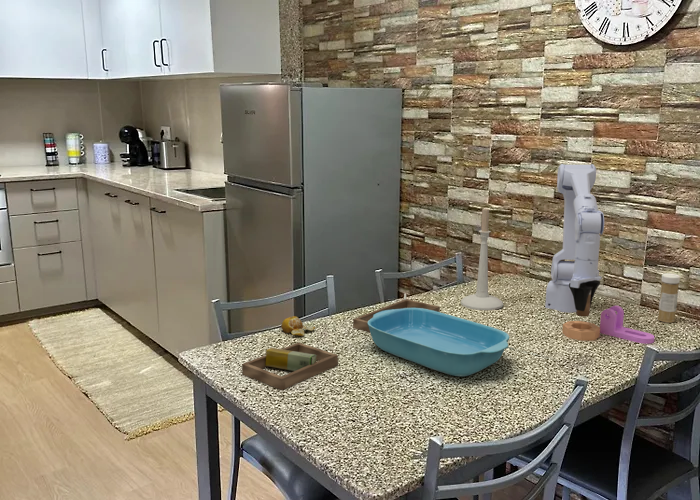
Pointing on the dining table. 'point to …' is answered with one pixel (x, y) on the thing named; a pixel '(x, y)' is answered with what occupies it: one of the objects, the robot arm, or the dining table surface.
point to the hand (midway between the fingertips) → (582, 308)
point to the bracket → (621, 327)
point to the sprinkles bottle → (668, 297)
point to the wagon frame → (363, 320)
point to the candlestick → (483, 275)
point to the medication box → (288, 359)
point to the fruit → (294, 326)
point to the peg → (587, 309)
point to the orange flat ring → (581, 330)
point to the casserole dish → (438, 340)
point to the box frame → (282, 382)
